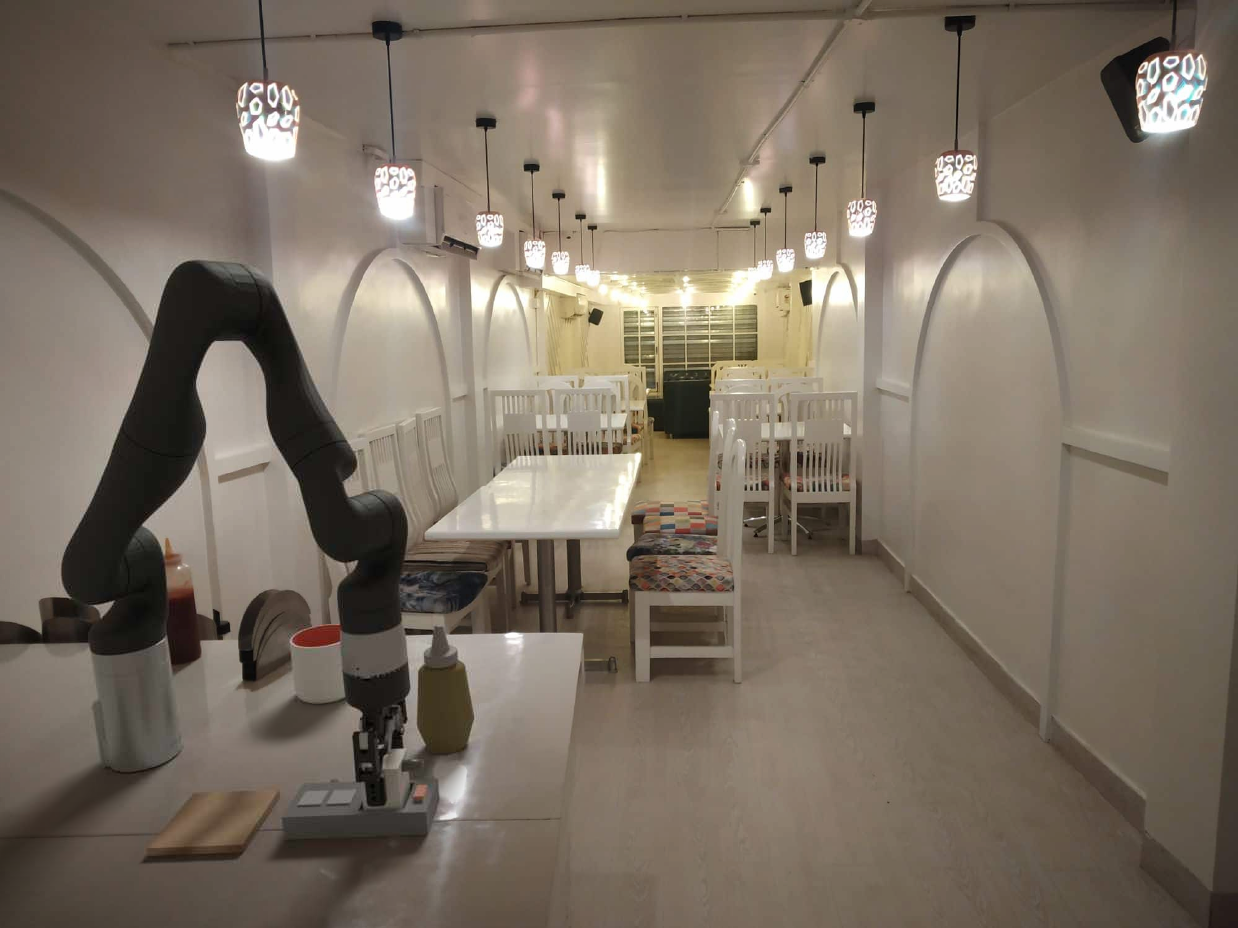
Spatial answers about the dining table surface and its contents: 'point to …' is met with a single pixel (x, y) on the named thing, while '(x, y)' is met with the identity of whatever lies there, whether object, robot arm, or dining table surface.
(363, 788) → the block
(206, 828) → the walnut board
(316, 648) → the cup
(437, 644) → the squeeze bottle
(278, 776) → the dining table surface
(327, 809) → the power strip
